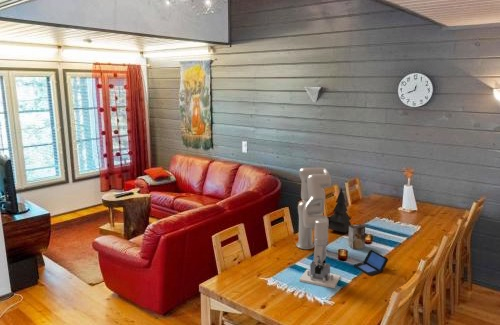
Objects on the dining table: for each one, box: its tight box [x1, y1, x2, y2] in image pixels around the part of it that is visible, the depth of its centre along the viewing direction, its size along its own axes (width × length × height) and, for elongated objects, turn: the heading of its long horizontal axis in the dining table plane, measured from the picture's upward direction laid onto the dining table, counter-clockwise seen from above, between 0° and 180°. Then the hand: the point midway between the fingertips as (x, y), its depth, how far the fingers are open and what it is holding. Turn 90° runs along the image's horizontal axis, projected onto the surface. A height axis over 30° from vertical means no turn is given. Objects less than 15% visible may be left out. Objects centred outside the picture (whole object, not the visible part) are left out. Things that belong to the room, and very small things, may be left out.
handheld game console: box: [353, 249, 389, 277], centre depth 235 cm, size 16×13×9 cm
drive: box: [309, 260, 331, 281], centre depth 223 cm, size 5×10×8 cm, turn 64°
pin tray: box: [298, 268, 341, 289], centre depth 224 cm, size 14×20×4 cm
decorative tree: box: [328, 187, 352, 233], centre depth 294 cm, size 15×15×35 cm
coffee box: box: [347, 223, 366, 250], centre depth 266 cm, size 9×6×16 cm
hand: (320, 270), depth 223 cm, fingers open, 9 cm apart
